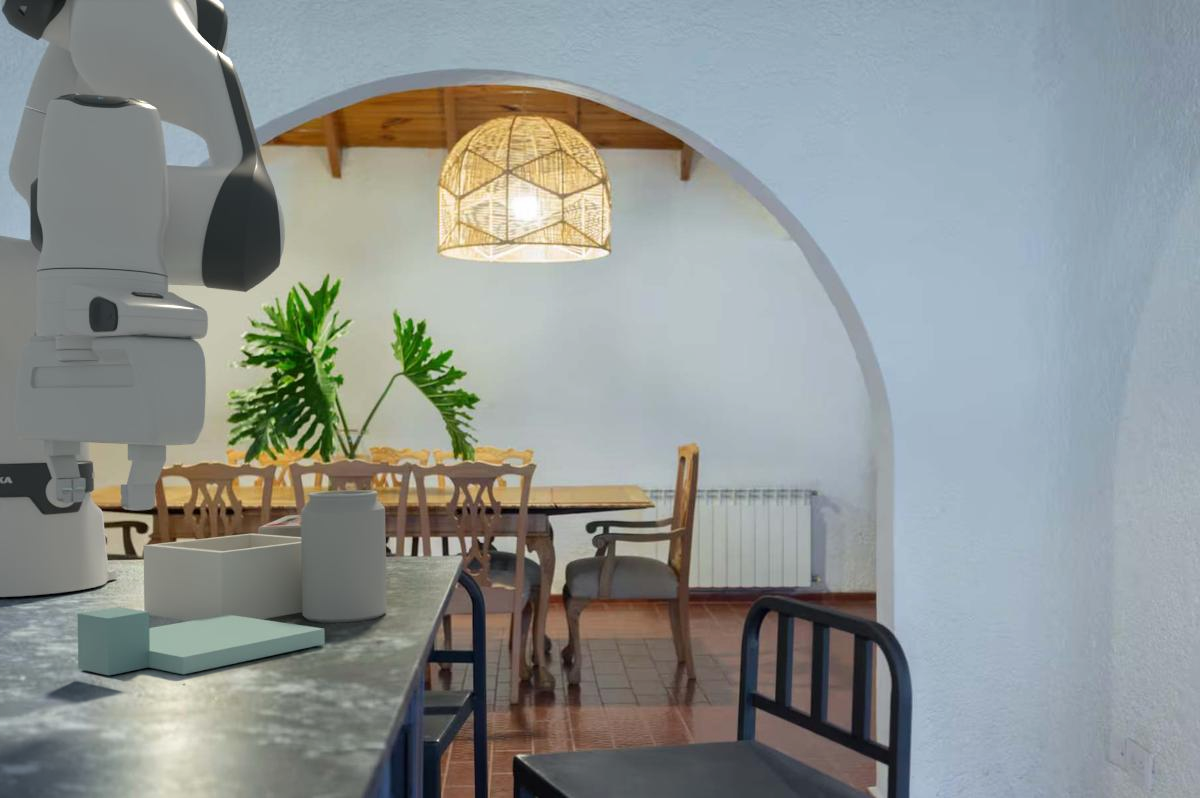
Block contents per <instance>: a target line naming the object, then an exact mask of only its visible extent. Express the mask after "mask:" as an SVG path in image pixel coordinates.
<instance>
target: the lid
mask: <svg viewBox="0 0 1200 798" xmlns="http://www.w3.org/2000/svg"><path fill="white" fill-rule="evenodd" d="M325 631H326V630H325V628H321V627H315V626H309V625H300V624H295V623H289V622H283V621H282V622H280V621H274V620H269V619H268V620H267V619H262V620H261V619H255V618H248V617H241V616H234V615H222V616H216V617H210V618H205V619H199V620H193V621H182V622H177V623H171V624H165V625H159V626H155V627H150V615H149V612H147V611H144V610H140V609H139V610H138V609H133V608H128V607H127V608H126V607H121V606H120V607H119V606H117V607H112V608H105V609H103V608H102V609H98V610H91V611H90V610H89V611H86V612H79V613H77V647H78V648H77V661H78V663H77V664H78V665H77V666H78V667H77V668H78V669H79V670H81V671H82V670H83V671H85V672H90V673H91V672H92V673H96V674H100V675H105V676H112V675H113V676H114V675H117V674H122V673H128V672H131V671H137V670H141V669H146V668H150V669H156V670H161V671H164V672H165V671H166V672H168V673H169V672H170V673H175V674H180V675H186V674H192V673H195V672H201V671H204V670H210V669H215V668H221V667H224V666H229V665H233V664H238V663H243V662H247V661H252V660H256V659H257V660H258V659H262V658H265V657H271V656H275V655H280V654H284V653H289V652H294V651H298V650H303V649H307V648H313V647H316V646H321V645H325V643H326V642H325V641H326V640H325V639H326V638H325Z"/></svg>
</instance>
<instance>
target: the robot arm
mask: <svg viewBox="0 0 1200 798" xmlns="http://www.w3.org/2000/svg"><path fill="white" fill-rule="evenodd" d="M0 1H1V5H2V7H1V12H2V13H3V15H4V17H5V19H6V21H7V22H8V25H10V26H12V27H13V28H14V29H16V30H17V31H19V32H20V33H23V34H24V35H26V36H28V37H30V38H32V39H35V40H36V41H39V40H40V39H42V40H44V41H45V42H48V45H47V47H46V49H45V51H44V54H43V55H42V57H41V60H40V62H39V64H38V67H37V69H36V72H35V73H34V74H35V75H34V76H33V81H32V83H31V86H30V87H29V91H28V95H27V98H26V102H25V106H24V108H23V112H22V116H21V120H20V123H19V127H18V132H17V134H16V137H15V139H16V140H15V142H14V147H13V150H12V152H11V153H12V155H11V158H10V161H9V164H8V165H9V166H8V175H9V179H10V183H11V185H12V187H13V189H14V190H15V191H16V192H17V193H18V194H19V195H20V196H21V197H22V198H23V199H24V200H25V201H26V203H27V205H28V209H29V213H30V214H29V215H30V216H29V219H30V220H29V221H30V222H29V223H30V224H29V225H30V226H29V227H30V228H29V229H30V231H29V232H30V238H29V239H23V238H18V237H11V236H7V235H6V236H4V235H0V598H7V597H26V596H39V595H50V594H61V593H68V592H75V591H81V590H86V589H87V590H88V589H91V588H96V587H101V586H104V585H106V584H107V582H108V581H112V580H115V579H118V571H117V569H116V568H114V569H113V568H109V562H108V552H107V541H106V539H107V538H106V530H105V519H104V513H103V511H102V509H101V508H100V507H99V506H98V505H97V504H96V503H95V502H94V500H93V498H92V495H91V493H92V492H93V491H94V489H95V483H94V481H95V480H94V479H95V477H96V476H95V471H94V462H93V461H92V460H90V443H93V444H94V443H95V444H116V445H117V444H118V445H121V444H122V445H127V460H128V461H130V462H131V466H130V470H129V473H128V478H127V481H126V484H123V483H122V484H120V496H121V499H120V506H121V508H122V509H124V510H128V511H147V510H148V511H149V510H152V509H154V507H155V506H156V484H157V483H158V480H159V478H160V476H161V473H162V471H163V469H164V466H165V464H166V461H167V446H185V445H186V446H187V445H194V444H195V443H196V442H197V440H198V439H199V437H200V435H201V432H202V430H203V428H204V424H205V418H206V417H205V416H206V395H207V391H206V390H207V389H206V387H207V386H206V385H207V383H206V382H207V381H206V378H207V377H206V376H207V375H206V374H207V373H206V371H207V370H206V369H207V368H206V359H205V357H206V356H205V353H204V350H203V348H202V346H201V344H200V343H199V341H197V340H201V339H204V338H205V337H206V336H207V333H208V329H209V319H208V318H209V317H208V311H206V309H205V308H203V307H202V306H199V305H197V304H195V303H193V302H191V301H190V300H189V301H188V300H187V299H184V298H183V297H181V296H179V295H177V294H176V293H174V292H171V291H169V286H193V287H195V286H196V287H199V286H200V287H206V288H208V289H216V290H227V291H233V292H242V293H247V292H248V291H250V290H252V289H253V288H255V287H256V286H258V285H259V284H260V283H262V282H264V281H265V280H266V279H268V277H270V276H271V275H272V274H273V273H274V272H275V271H276V270H277V269H278V268H279V267H280V265H281V260H282V257H283V254H284V247H285V241H286V240H285V238H286V237H285V236H286V234H285V233H286V231H285V217H284V213H283V210H282V206H281V203H280V200H279V197H278V195H277V194H276V190H275V186H274V185H273V184H274V183H273V181H272V179H271V178H270V177H271V176H270V175H269V173H268V170H267V168H266V165H265V162H264V159H263V156H262V152H261V147H260V144H259V140H258V137H257V134H256V130H255V126H254V122H253V120H252V119H253V118H252V116H251V112H250V108H249V105H248V102H247V98H246V95H245V93H244V88H243V86H242V83H241V80H240V78H239V74H238V72H237V70H236V68H235V66H234V64H233V62H232V61H231V59H230V58H229V57H228V56H226V52H227V50H228V43H229V28H228V25H229V23H228V22H229V19H228V14H227V11H226V9H225V6H224V4H223V3H222V2H221V1H220V0H0ZM162 122H165V123H168V124H171V125H175V126H178V127H181V128H182V129H184V130H188V131H190V132H192V133H194V134H196V135H198V137H200V138H202V139H203V141H205V142H204V143H206V147H207V151H208V155H209V159H210V163H211V165H207V166H190V165H187V166H186V165H173V164H172V165H171V164H167V157H166V156H167V154H166V146H165V139H164V138H165V137H164V132H163V125H162Z"/></svg>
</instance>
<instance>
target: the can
mask: <svg viewBox="0 0 1200 798" xmlns="http://www.w3.org/2000/svg"><path fill="white" fill-rule="evenodd" d="M378 494H379V493H378V491H376V490H372V489H371V490H369V489H368V490H364V489H363V490H362V489H360V490H359V489H356V490H355V489H352V490H350V489H349V490H348V489H345V490H327V491H325V490H324V491H315V492H310V493H309V492H308V494H307V496H308V498H309V500H308V502H306V504H305V505H304V507H302V508H301V510H300V515H301V551H302V612H301V614H302V616H303V617H304V618H305V619H306V620H307V621H311V622H316V623H331V624H332V623H352V622H353V623H354V622H360V621H361V622H362V621H368V620H372V619H377V618H379V617H381V616H383V615H384V614H385V613H386V612H387V608H388V607H387V598H386V587H387V543H386V542H387V540H385V537H386V507H385V506H384V505H383V504H382V503H381V501H379V499H378V498H377V495H378Z"/></svg>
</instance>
